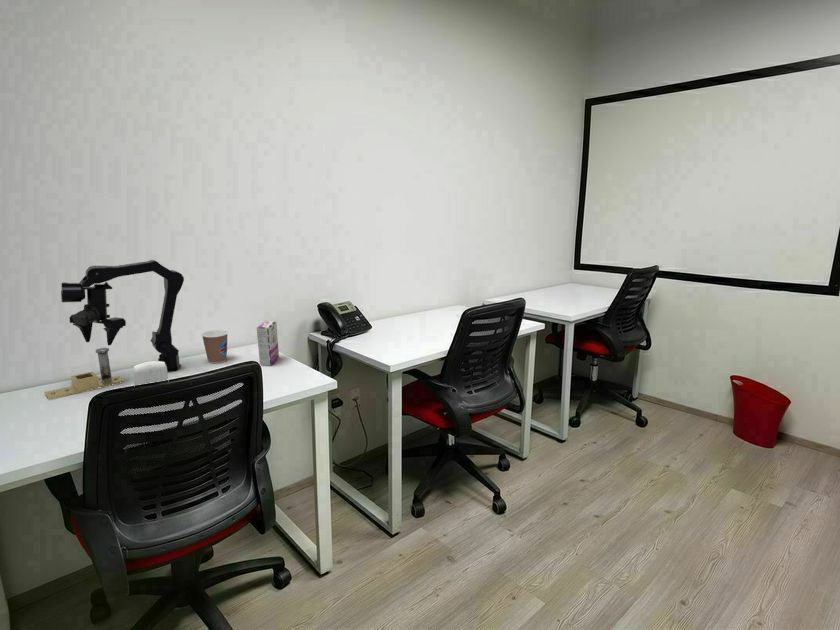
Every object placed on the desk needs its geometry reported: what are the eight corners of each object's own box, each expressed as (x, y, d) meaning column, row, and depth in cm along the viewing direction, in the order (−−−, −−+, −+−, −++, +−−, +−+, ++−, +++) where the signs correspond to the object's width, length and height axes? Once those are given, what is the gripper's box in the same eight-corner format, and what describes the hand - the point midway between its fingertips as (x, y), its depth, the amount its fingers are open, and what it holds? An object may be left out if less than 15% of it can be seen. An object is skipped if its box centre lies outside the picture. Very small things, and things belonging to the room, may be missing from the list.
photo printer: (169, 390, 171) (165, 357, 168) (170, 395, 168) (166, 361, 165) (135, 397, 166) (130, 362, 163) (136, 401, 162) (131, 366, 159)
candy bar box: (267, 357, 208) (265, 320, 204) (279, 357, 208) (277, 320, 204) (258, 366, 197) (256, 327, 193) (271, 366, 197) (268, 327, 193)
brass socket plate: (118, 377, 183) (117, 366, 182) (124, 382, 178) (122, 370, 177) (45, 394, 167) (42, 381, 166) (49, 399, 162) (46, 387, 161)
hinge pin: (115, 376, 184) (110, 347, 182) (110, 380, 180) (105, 350, 178) (103, 376, 184) (98, 348, 181) (97, 381, 180) (93, 351, 177)
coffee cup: (224, 364, 198) (222, 336, 195) (199, 364, 198) (196, 336, 195) (234, 356, 208) (232, 329, 205) (210, 356, 208) (207, 329, 205)
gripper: (54, 301, 167) (56, 345, 170) (100, 307, 164) (102, 352, 166) (82, 297, 178) (84, 338, 180) (126, 303, 174) (127, 345, 177)
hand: (98, 343), depth 176 cm, fingers open, 9 cm apart
